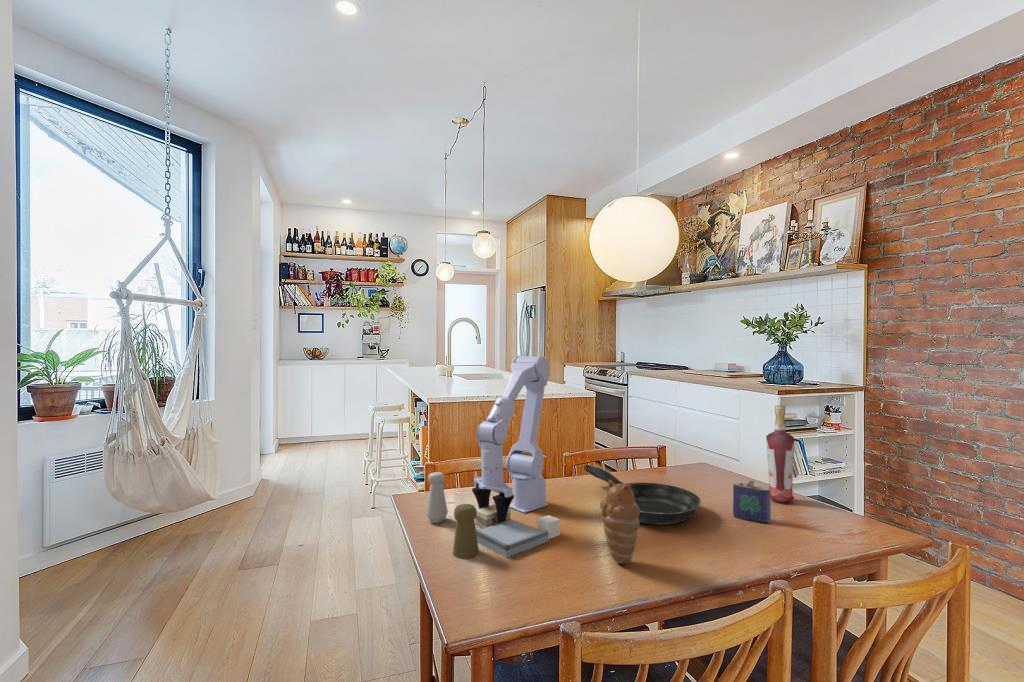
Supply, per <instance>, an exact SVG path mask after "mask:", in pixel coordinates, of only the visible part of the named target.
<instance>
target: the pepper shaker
mask: <svg viewBox="0 0 1024 682" xmlns="http://www.w3.org/2000/svg"><path fill="white" fill-rule="evenodd" d="M476 510H477V509H476V506H474V504H471V503H462V504H458V505H457V506H456V507H455V508H454V511H453V514H454V515H453V517H454V519H455V521H456V523H455V531H454V539H453V540H454V541H453V547H452V548H453V551H452V556H454V557H456V558H457V559H464V558H466V559H472V558H475V557H476V555H477V556H479V553H480V549H479V543H478V542H477V535H476V529H477V528H476V525H475V518H476V514H477V511H476ZM474 556H475V557H474ZM471 557H472V558H471Z"/></svg>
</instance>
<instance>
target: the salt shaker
mask: <svg viewBox="0 0 1024 682" xmlns="http://www.w3.org/2000/svg"><path fill="white" fill-rule="evenodd" d="M427 477H428V482H429V483H430V485H429V492H428V499H427V505H426V511H425V512H426V513H425V514H426V516H427V518H428V520H429V522H430V523H431V524H441V523H444V522H445V520H446V517H447V515H448V513H449V511H448V506H447V500H446V496H445V490H444V486H443V482H444V481H445V474H444V473H443V472H440V471H436V472H435V471H433V472H431V473H429V474H428V476H427Z"/></svg>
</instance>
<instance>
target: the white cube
mask: <svg viewBox="0 0 1024 682" xmlns="http://www.w3.org/2000/svg"><path fill="white" fill-rule="evenodd" d="M560 520H561V519H559V518H557V517H555V516H551V515H549V514H548V515H545V516H541V517H539V518H537V519H536V530H537V531H539V532H543V531H545V530H546V531H548V540H550V538H551V539H553V538H555V537H558V536H560V535H561V530H560V529H561V527H560V525H561V523H560Z"/></svg>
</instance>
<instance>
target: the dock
mask: <svg viewBox="0 0 1024 682" xmlns="http://www.w3.org/2000/svg"><path fill="white" fill-rule="evenodd" d="M476 535H477V542H478V544H480V545H482V546H484V547H486V548H487V549H489V550H491V549H492V550H491V551H493V550H494V552H495V551H496V552H495V553H497V552H498V553H497V554H499V553H500V554H499V555H501V554H502V555H501V556H503V557H505V556H506V557H507V558H509V557H508V556H510V557H512V556H514V555H513V554H515V555H517V554H520V553H522V552H521V551H523V552H525V551H527V550H526V549H528V550H530V549H533V548H535V547H538V546H541V545H543V544H546V543H548V542H549V539H548V531H546V530H545V531H543V532H539V531H537V529H535V528H532V527H529V526H527V525H525V524H523V523H521V522H518V521H516V520H514V519H511V520H508V521H505V522H501V523H499V524H496V525H493V526H490V527H487V528H484V529H482V528H481V529H477V528H476ZM545 542H546V543H545ZM542 543H543V544H542ZM540 544H541V545H540ZM537 545H538V546H537ZM534 546H535V547H534ZM532 547H533V548H532ZM529 548H530V549H529ZM524 550H525V551H524ZM519 552H520V553H519ZM516 553H517V554H516ZM511 555H512V556H511ZM506 557H505V558H506Z"/></svg>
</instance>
